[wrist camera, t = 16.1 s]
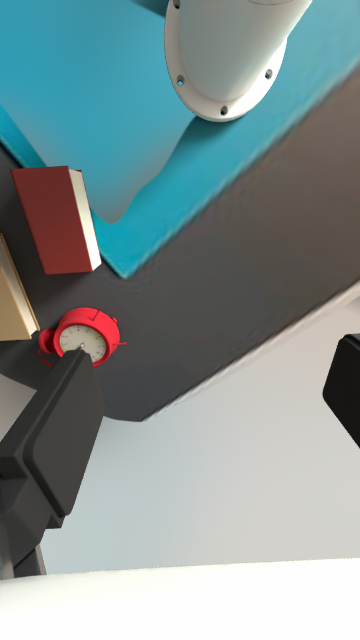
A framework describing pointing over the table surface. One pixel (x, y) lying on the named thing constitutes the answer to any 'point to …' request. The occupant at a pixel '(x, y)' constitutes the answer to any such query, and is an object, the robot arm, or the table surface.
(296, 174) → the table surface
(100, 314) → the alarm clock
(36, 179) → the dictionary
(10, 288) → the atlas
